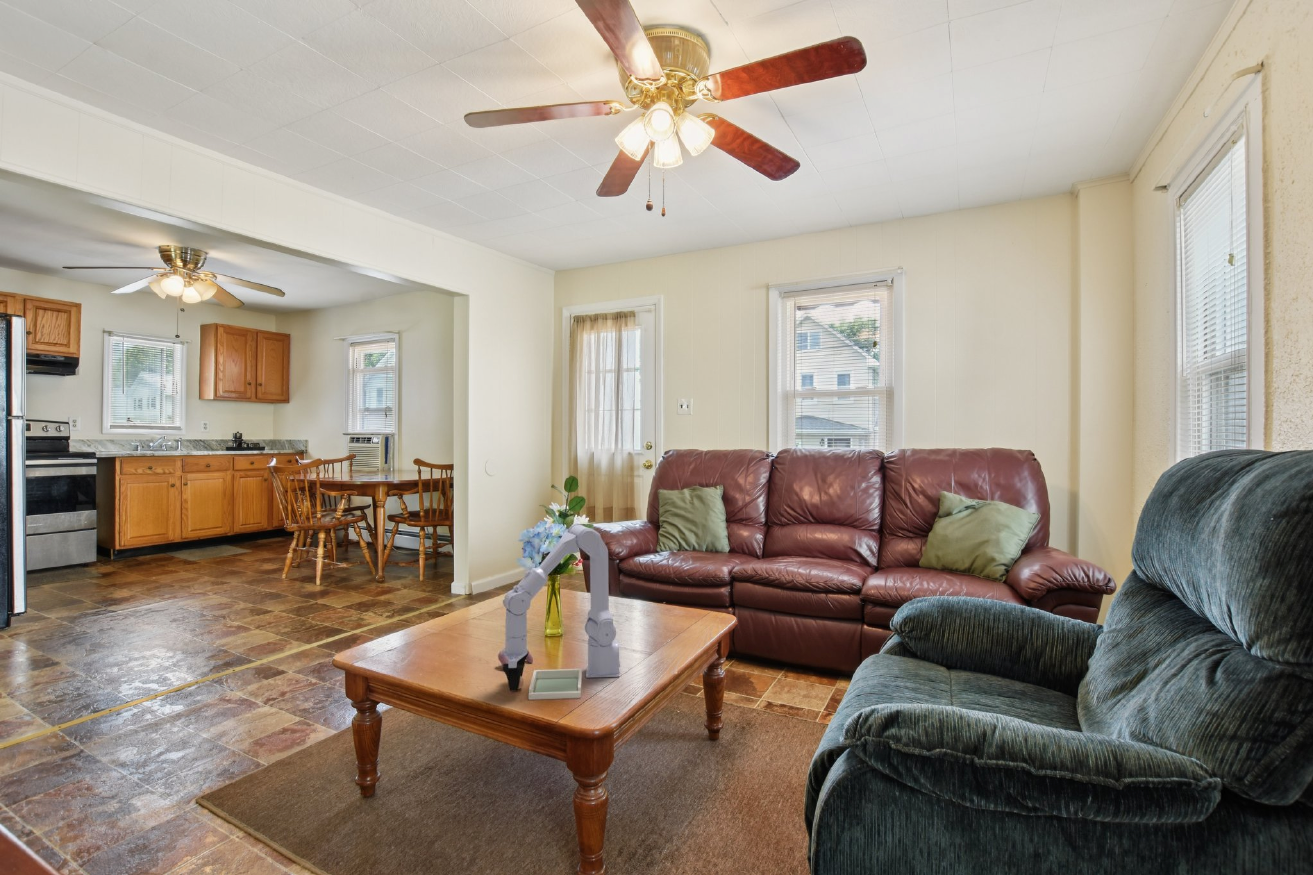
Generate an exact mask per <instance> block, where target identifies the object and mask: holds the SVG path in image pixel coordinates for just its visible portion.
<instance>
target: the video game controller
mask: <svg viewBox="0 0 1313 875" xmlns="http://www.w3.org/2000/svg"><path fill="white" fill-rule="evenodd" d="M502 650H505V648H504V649H502ZM527 651H529V649H527ZM497 659H498V661H499V662H500V664H501V666H502V667H503V664H509V661H508V659H507V658H506V656H505V655H501V651H500V652H499V653H498V654H497ZM533 661H534V660H533V656H532V654H531V653H530V652H529V653H528V656H527V658H526V660H525V662H528V664H533Z"/></svg>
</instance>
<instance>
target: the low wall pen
mask: <svg viewBox="0 0 1313 875" xmlns="http://www.w3.org/2000/svg"><path fill="white" fill-rule="evenodd" d="M563 678H578V685H577V691H567V692H537V693H534V692H535V688H536V684H537V680H538V679H563ZM582 679H583V668H566V669H565V668H564V669H563V668H562V669H536V670H535V669H534V670H533V673H532V677H531V680H530V683H529V688H528V700H530V701H531V700H532V701H533V700H535V701H536V700H559V699H561V700H562V699H581V698H582V696H581V695H582V681H583V680H582Z"/></svg>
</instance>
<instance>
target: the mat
mask: <svg viewBox="0 0 1313 875" xmlns="http://www.w3.org/2000/svg"><path fill="white" fill-rule="evenodd" d="M567 691H578V678H563V679H538V680H536V684H535V688H534V692H533V693H537V692H567Z"/></svg>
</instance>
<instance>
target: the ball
mask: <svg viewBox="0 0 1313 875" xmlns="http://www.w3.org/2000/svg"><path fill="white" fill-rule="evenodd" d="M523 685H524V678H523V675H522V676H520V683H519V688H518V690H520V689H521V688H522V687H523Z"/></svg>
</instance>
